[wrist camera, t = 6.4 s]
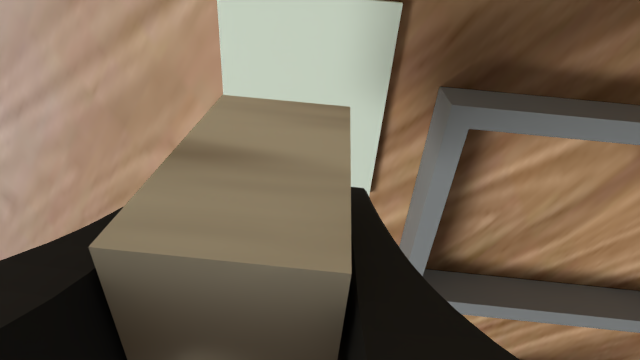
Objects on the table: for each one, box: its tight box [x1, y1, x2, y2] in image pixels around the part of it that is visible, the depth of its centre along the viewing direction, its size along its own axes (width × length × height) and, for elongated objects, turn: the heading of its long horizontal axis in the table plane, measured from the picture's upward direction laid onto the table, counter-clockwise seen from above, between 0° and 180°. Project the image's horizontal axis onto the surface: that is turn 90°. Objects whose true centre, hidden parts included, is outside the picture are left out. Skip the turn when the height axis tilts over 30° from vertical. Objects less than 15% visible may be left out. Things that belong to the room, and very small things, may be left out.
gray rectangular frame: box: [399, 87, 640, 333], centre depth 20 cm, size 13×19×2 cm
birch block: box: [88, 95, 352, 360], centre depth 10 cm, size 5×4×7 cm
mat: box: [217, 0, 403, 196], centre depth 19 cm, size 10×8×1 cm
